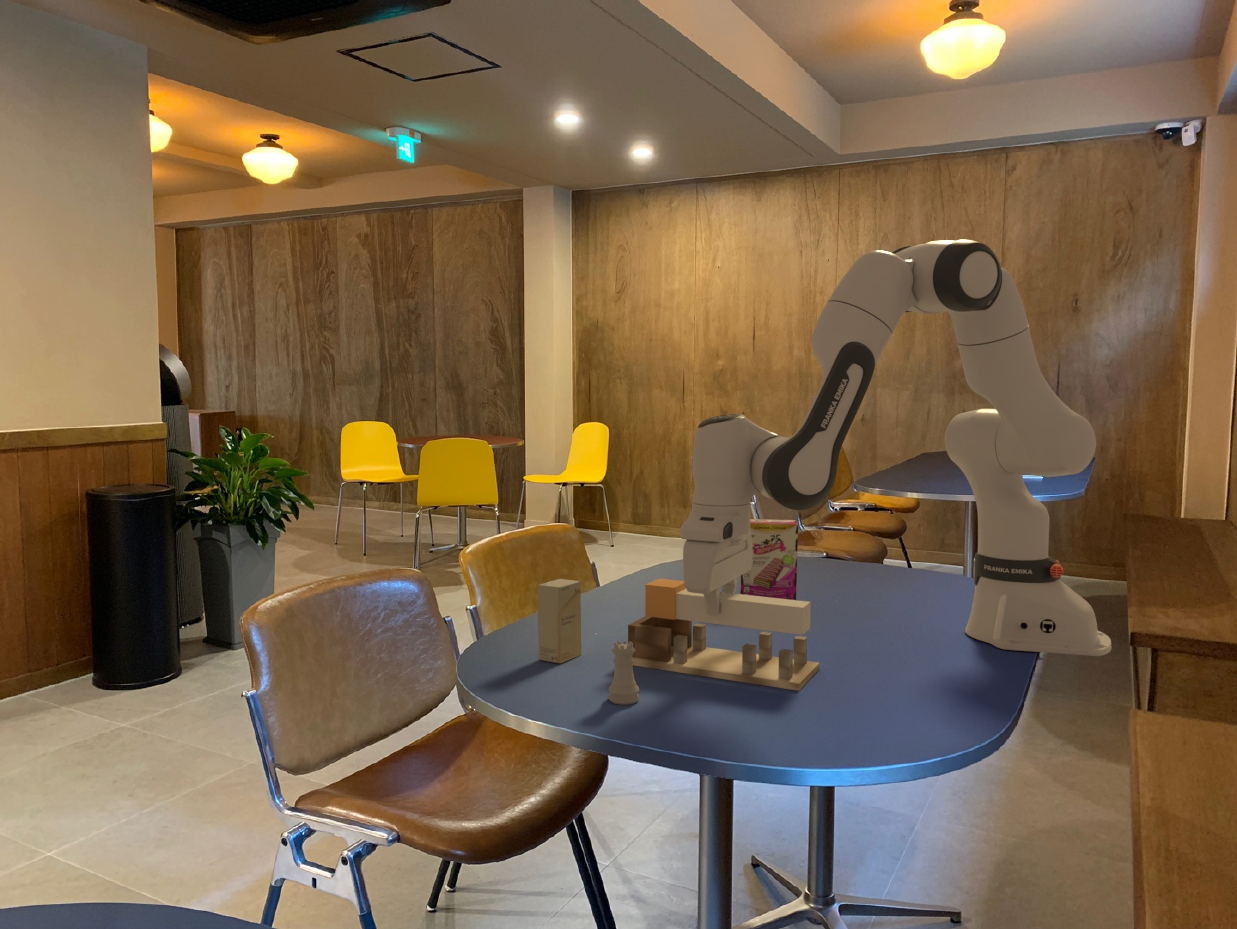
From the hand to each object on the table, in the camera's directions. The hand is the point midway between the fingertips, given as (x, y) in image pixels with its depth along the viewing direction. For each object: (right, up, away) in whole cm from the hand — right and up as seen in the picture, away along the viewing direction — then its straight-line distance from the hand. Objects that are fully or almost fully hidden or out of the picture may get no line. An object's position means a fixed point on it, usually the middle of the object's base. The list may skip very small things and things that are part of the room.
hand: (720, 610), depth 139 cm
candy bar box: (+14, -5, +43) cm, 45 cm away
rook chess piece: (-15, -10, -14) cm, 23 cm away
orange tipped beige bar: (+1, -2, 0) cm, 2 cm away
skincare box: (-25, -9, +6) cm, 27 cm away
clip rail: (0, -9, +1) cm, 9 cm away
